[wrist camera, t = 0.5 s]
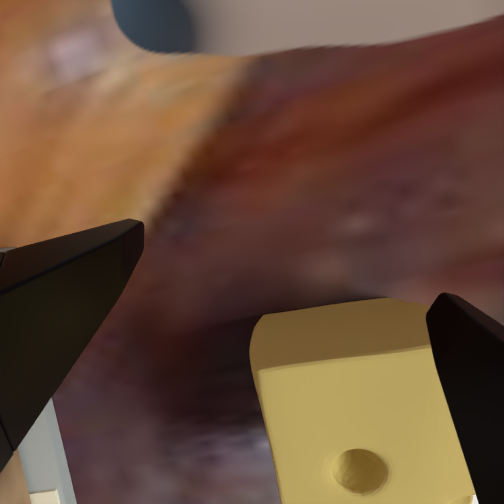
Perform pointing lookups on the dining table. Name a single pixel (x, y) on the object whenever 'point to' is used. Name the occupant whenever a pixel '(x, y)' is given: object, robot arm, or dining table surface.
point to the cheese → (356, 406)
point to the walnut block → (14, 482)
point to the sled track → (45, 459)
